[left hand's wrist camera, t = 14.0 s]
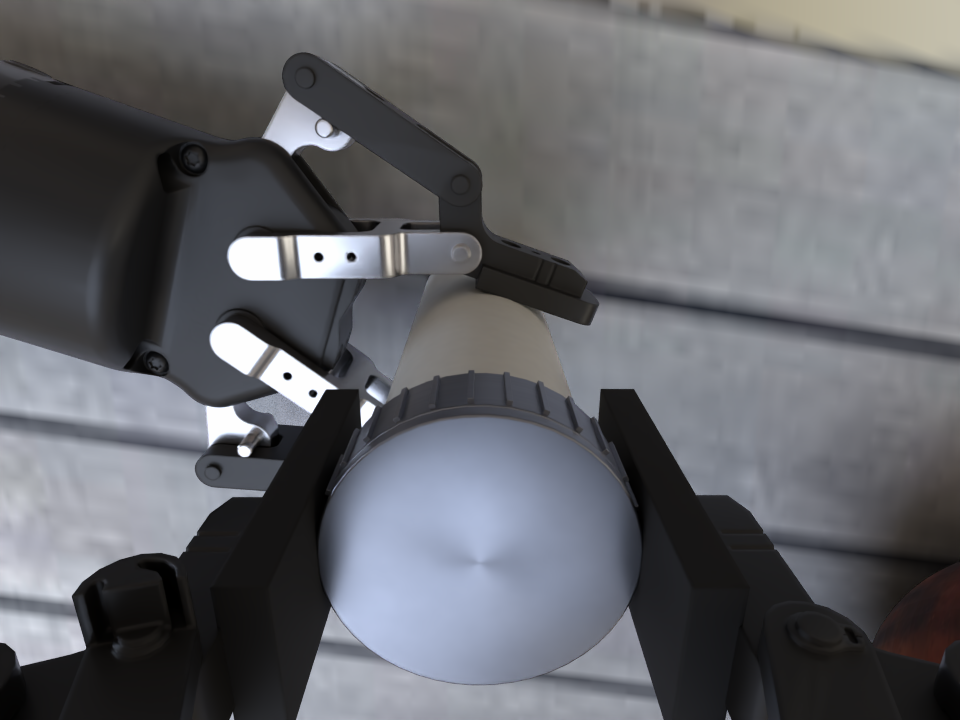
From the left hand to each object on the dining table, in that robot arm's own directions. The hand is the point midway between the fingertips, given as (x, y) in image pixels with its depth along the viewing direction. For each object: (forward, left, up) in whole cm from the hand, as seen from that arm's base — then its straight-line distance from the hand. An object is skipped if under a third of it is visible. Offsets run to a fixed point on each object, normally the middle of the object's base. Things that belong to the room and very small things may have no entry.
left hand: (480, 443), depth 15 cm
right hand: (-2, -1, -6) cm, 6 cm away
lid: (0, 0, +4) cm, 4 cm away
